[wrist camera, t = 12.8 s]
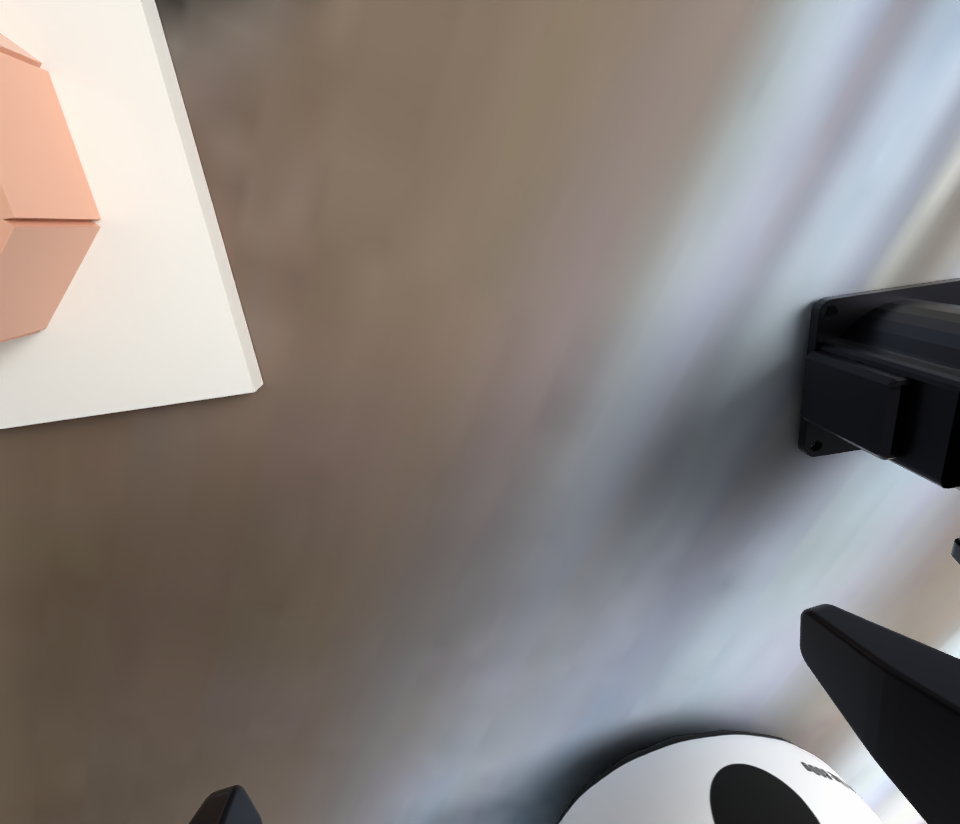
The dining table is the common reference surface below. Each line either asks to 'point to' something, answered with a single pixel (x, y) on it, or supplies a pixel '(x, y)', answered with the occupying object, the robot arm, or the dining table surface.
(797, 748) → the milk container
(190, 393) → the octagonal ring base
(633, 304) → the dining table surface
